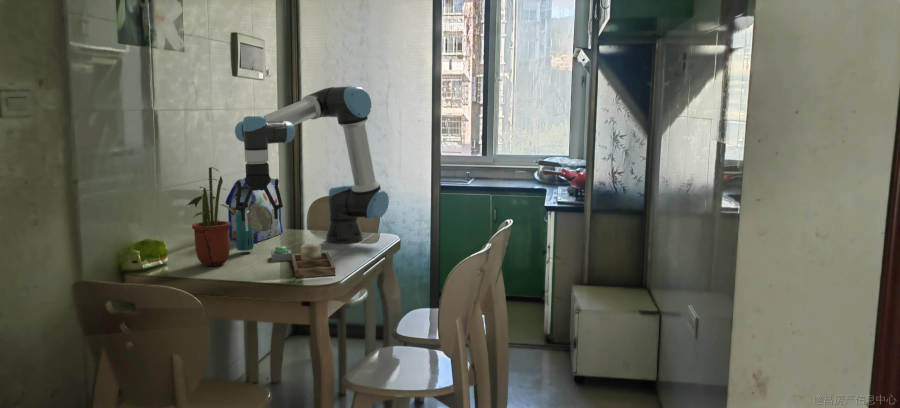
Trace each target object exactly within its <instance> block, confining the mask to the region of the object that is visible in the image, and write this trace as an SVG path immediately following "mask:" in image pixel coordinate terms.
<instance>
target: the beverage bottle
mask: <svg viewBox="0 0 900 408" xmlns="http://www.w3.org/2000/svg"><path fill="white" fill-rule="evenodd" d="M243 203H244V202H240V207H242V205H243ZM247 207H248V204H247V206H246V208H247ZM245 211H247V215H248V212H249V210H245ZM235 222H236V240H237V241H236V242H235V243H236V244H235V245H236V249H237V251H244V252H245V251H251V250H254V246H255V245H254V243H255V242H253V241H254V240H253V230H252V227H251V226H250V225H249V223H248V231H246V225H245V221H242V217H241V211H237V212H236V213H235Z"/></svg>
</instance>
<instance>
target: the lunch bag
mask: <svg viewBox="0 0 900 408" xmlns="http://www.w3.org/2000/svg"><path fill="white" fill-rule="evenodd" d="M245 178H246V177H242V178H241V179H237V180H236V182H235V183H234V184H233V185H232V188H231V189H230V191H229V193H228V194H227V197H226V199H225V205H226V206H227V207H229V208H231V210H232V211H233V212H234V213H233V212H231V211H230V210H229V209H228V208H227V210H228V212H227V214H228V217H227V219H228V222H230V223H231V226H230V227H229V238H230V242H237V240H236V222H235V215H234V214H235V213H236V212H237V211H239V210H236V209H235V207H236V199H237V192H238V186H237V181H238V180H244V179H245ZM249 188H250V187H249V186H248V185H247V184H246V183H244V186H242V190H241V198H240V202H244V200H245V198H246V195H247V193H248V190H249ZM267 188H268V190H269V192H270V194H271V196H272V198H273V200H274V201H275V203H276V205H278V204H279V203H278V199H277V195H276V191H275V185H273V184H272V182H271V181H270V183H269V184H268V186H267ZM253 204H256V205H258V204H259V205H260V206H264V207H266V208H267V209H268V210H269V211H270V213H271V215H272V209H274V208H273V206H272V204H271V202H270V200H269V198H268V197H267V195H266V193H265V191H264V190H256V191H254V190H253V191H252V194H251V196H250V199H249V201H248V207H247V208H246V209H245V210H250V209H251V208H252V205H253ZM271 228H272V229H270V230H267V231H261V232H258V231H256V230H255V229H254V228H252V230H253V240H254V241H253V243H257V242H261V241H264V240H266V239H270V238H273V237H275V236H279V235H282V234H283V225H282V208H279V209H278V219H275V229H273V226H272V225H271Z"/></svg>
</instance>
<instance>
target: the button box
mask: <svg viewBox="0 0 900 408" xmlns="http://www.w3.org/2000/svg"><path fill="white" fill-rule="evenodd" d="M270 254H271V262H284V261H285V262H286V261H292V255H293V254H292V250H291V249H287V253H278V254H276V251H275V250H270Z"/></svg>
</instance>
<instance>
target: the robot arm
mask: <svg viewBox="0 0 900 408" xmlns="http://www.w3.org/2000/svg"><path fill="white" fill-rule="evenodd" d="M371 109H372V99H371V97H370V95H369V93H368V91H367V90H365V89H364V88H363V87H360V86H354V85H353V86H352V85H350V86H349V85H347V86H337V87H336V86H335V87H334V86H332V87H331V86H330V87H325V88H322V89H319V90H317V91H315V92H312V93H310V94H307V95H305V96H304V97H302V100H300V101H297V102H295V103H291V104H289V105H287V106H284V107H282V108H279V109H276V110H275V111H271V112H269V113H267V114H265V115H254V116H251V115H250V116H248V115H247V116H244V118H243V119H242V120H241V121H239V122H237V123H236V125H235V128H234V134H235V137H236V139H237V140H238V141H239V142H241V143H242V142H243V144H244V162H245V163H246V164H245V167H244V168H245V177H244V178H245V179H244V180H240V179H237V180H238V181H237V180H236V181H237V186H238V192H237V199H236V207H235V209H236V210H239V211H241V217H242V221H245V225H246V231H248V218H247V211H245V209H246V206H247V204H248V201H249V199H250V196H251V194H252V191H253V190H254V191H256V190H264V191H265V193H266V195H267V197H268V198H269V200H270V202H271V204H272V206H273V208H274V209H272V226H273V229H275V219H278V209H279V208H281V209H282V208H283V207H284V206H283V205H284V204H283V202H282V201H283V200H282V196H281V193H280V192H281V191H280V188H279V183H280V180H279V179H278V178H271V176H270V166H269V163H268V162H269V148H268V147H269V144H286V143H290V142H292V141H293V140H294V138H295V135H296V128H295V126H296V125H299V124H301V123H303V122H305V121H308V120H317V119H319V118H337V124H338V125H339V126H340V127H342V128H343V134H344V138H345V143H346V147H347V148H346V149H347V153H348V158H349V163H350V168H351V173H352V178H353V183H354V184H347V185H342V186H341V185H339V186H335V187H331V188H329V190H328V208H329V210H328V211H329V225H328V228H327V232H326V236H325V241H326V242H328V243H331V244H352V243H357V242H361V241H363V233H362V229H361V226H360V223H359V219H358V218H363V219H370V220H373V219H376V220H377V219H381V218H382V217H383V216H384V215H385V214H386V212H387V210H388V207H389V202H390V199H389V195H388V193H387V192H386V191H385V190H383V189H381V188H382V187H381V183H380V182H378V181H377V180H376V176H375V170H374V166H373V160H372V156H371V151H370V145H369V139H368V133H367V128H366V122H367V121H368V116H369V115H370V114H371ZM270 181H271V182H272V184H273V185H274V187H275V191H276V195H277V199H278V203H279V204H278V205H276V203H275V201H274V200H273V198H272V196H271V194H270V192H269V190H268V188H267V186H268V184H269V183H270ZM244 183H246V184H247V185H248V186H249V187H250V188H249V190H248V193H247V195H246V198H245V200H244V203H243V205H242V207H240V198H241V190H242V186H244Z"/></svg>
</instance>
